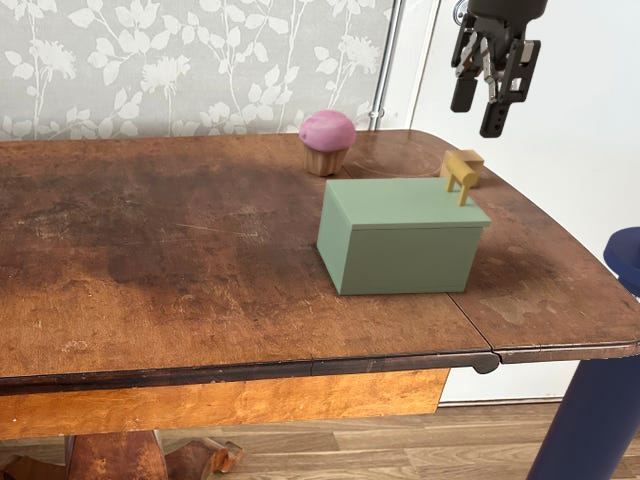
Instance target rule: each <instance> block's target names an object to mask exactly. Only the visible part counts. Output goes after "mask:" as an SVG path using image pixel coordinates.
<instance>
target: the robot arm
mask: <svg viewBox="0 0 640 480" xmlns="http://www.w3.org/2000/svg"><path fill="white" fill-rule="evenodd" d="M548 2H549V0H468V1H467V6H466V7H467V12H465V13H464V14H463V16H462V18H461V23H460V27H459V31H458V34H457V38H456V42H455V45H454V48H453V53H452V57H451V59H450V60H451V61H450V66H451V68H452V69H455V72H454V74H455V76H454V77H456V78H457V79H456V83H455V87H454V91H453V95H452V98H451V103H450V106H449V108H450V111H451V112H453V113H454V114H462V113H463V114H464V113H469V112H470V111H471V108H472V105H473V101H474V98H475V94H476V90H477V86H478V82H479V80H478V79H477V78H479V76H480V75H481V74H482V73H483V81H484V82H485V83H486V84H487V85H488V101H487V104H486V107H485V110H484V114H483V117H482V121H481V125H480V128H479V131H478V132H479V133H478V134H479V136H481V137H482V138H483V139H498V138H500V137H501V136H502V135H503V130H504V128H505V125H506V122H507V118H508V115H509V111H510V107H511V105H512V104H517V103H519V104H520V103H521V104H522V103H525V102H526V101H527V99H528V95H529V91H530V87H531V85H532V80H533V77H534V73H535V70H536V65H537V62H538V58H539V55H540V51H541V48H542V42H541V40H540V39H526V35H527V34H526V33H527V26H528V24H529V23H530V22H532V21H533V20H539V18H542V17H543V15H544V14H545V12H546V9H547V5H548ZM518 79H520V82H519V86H518ZM499 85H500V86H499Z"/></svg>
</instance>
